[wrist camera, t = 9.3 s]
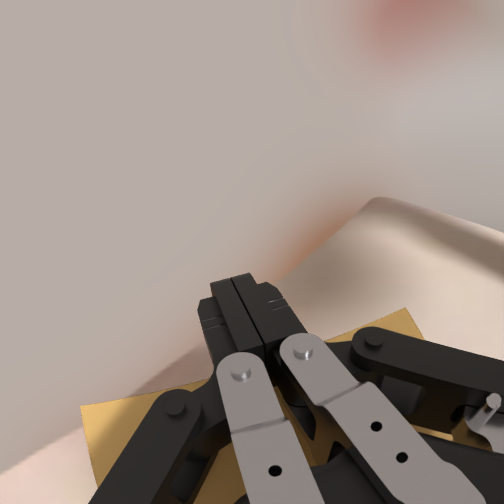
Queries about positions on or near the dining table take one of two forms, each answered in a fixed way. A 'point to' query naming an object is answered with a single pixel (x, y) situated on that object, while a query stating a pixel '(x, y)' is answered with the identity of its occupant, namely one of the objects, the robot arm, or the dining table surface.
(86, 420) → the yellow plate
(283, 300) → the robot arm
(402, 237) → the dining table surface
